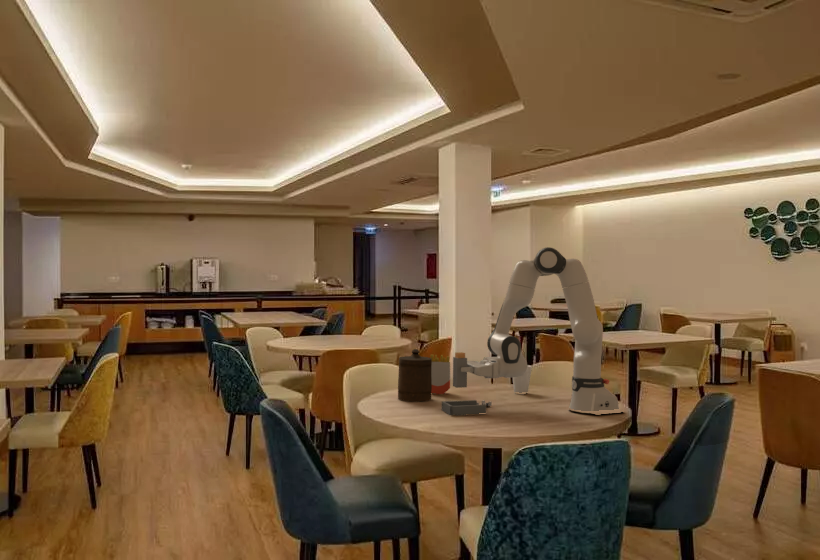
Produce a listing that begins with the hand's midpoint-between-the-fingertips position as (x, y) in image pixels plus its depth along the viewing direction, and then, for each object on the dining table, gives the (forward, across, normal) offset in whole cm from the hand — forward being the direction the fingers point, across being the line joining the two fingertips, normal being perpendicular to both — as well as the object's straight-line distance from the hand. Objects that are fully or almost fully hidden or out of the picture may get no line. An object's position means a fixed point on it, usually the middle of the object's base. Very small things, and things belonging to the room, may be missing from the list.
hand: (458, 368), depth 285 cm
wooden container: (+11, -25, +17) cm, 32 cm away
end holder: (0, +7, +17) cm, 18 cm away
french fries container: (-4, -37, +17) cm, 41 cm away
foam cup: (-43, -30, +17) cm, 55 cm away
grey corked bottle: (-1, 0, +8) cm, 8 cm away
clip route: (-12, -1, +17) cm, 21 cm away
